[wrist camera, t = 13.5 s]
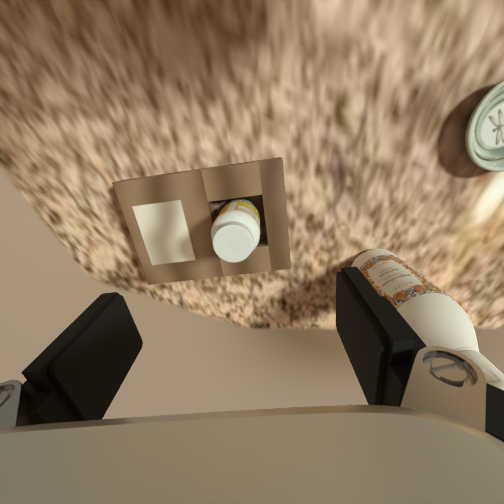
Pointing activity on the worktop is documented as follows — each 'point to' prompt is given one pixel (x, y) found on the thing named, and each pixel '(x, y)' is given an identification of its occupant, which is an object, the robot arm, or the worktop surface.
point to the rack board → (202, 220)
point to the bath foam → (425, 308)
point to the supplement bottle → (236, 230)
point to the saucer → (487, 131)
